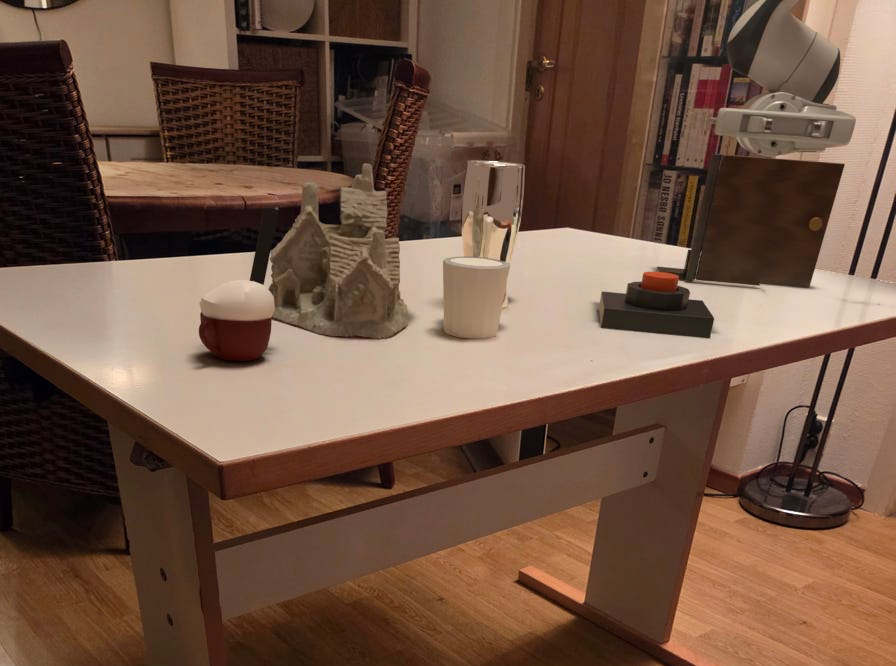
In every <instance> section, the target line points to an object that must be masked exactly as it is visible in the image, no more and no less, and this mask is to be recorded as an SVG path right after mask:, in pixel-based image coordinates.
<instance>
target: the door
mask: <svg viewBox="0 0 896 666" xmlns="http://www.w3.org/2000/svg"><path fill="white" fill-rule="evenodd" d="M845 166H846V164H845V163H844V162H843V163H842V162H830V161H816V160H815V161H814V160H804V159H803V160H801V159H789V158H778V157H777V158H774V157H764V156H762V157H761V156H749V155H735V154H721V153H711V156H710V160H709V164H708V169H707V175H706V178H705V179H706V180H705V184H704V187H703V188H704V189H703V193H702V197H701V202H700V207H699V212H698V216H697V221H696V226H695V231H694V236H693V239H692V245H691V249H690V250H691V254H690V258H689V263H688V268H687V272H686V277H685V279H688V280H692V281H694V280H695V281H705V282H715V283H725V284H736V285H748V286H758V287H759V286H761V285H769V286H782V287H792V288H804V289H810V288H811V284H812V280H813V277H814V273H815V270H816V266H817V263H818V260H819V256H820V253H821V249H822V245H823V242H824V239H825V234H826V231H827V228H828V224H829V222H830V218H831V214H832V211H833V208H834V203H835V200H836V196H837V193H838V190H839V186H840V183H841V179H842V176H843V172H844V169H845Z"/></svg>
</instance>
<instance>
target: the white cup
mask: <svg viewBox="0 0 896 666" xmlns="http://www.w3.org/2000/svg"><path fill="white" fill-rule="evenodd" d="M510 268H511V264H508V263H507V262H503V261H500V260H496V259H490V258H484V257H469V256H463V255H462V256H451V257H446V258H443V260H442V285H443V289H442V292H443V293H442V294H443V296H442V297H443V332H445V334H447V335H449V336H453V337H456V338H462V339H489V338H493V337H496V336H497V334H498V330H499V325H500V319H501V315H502V310H503V309H502V305H503V300H504V294H505V289H506V284H507V285H508V278H509V275H510Z"/></svg>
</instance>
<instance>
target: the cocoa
mask: <svg viewBox="0 0 896 666" xmlns="http://www.w3.org/2000/svg"><path fill="white" fill-rule="evenodd" d="M279 210H280V209H279V208H278V206H273V205H266V206H264V207H263V210H262V215H261V221H260V225H259V230H258V236H257V241H256V246H255V251H254V256H253V261H252V267H251V271H250V276H249V280H248V279H233V280H229V281H226V282H224V283H222V284H220V285H218V286H217V287H215V288H213V289H211V290H208V291H206V292H205V293H204V294H203V295H202V296H201V297H200V301H199V308H200V314H199V319H200V324H199V326H198V336H199V339H200V341H201V343H202V344H203V345H204V347H205V348H206V349H207V350H209V351H210V352H211V353H212V354H213V355H215V356H216V357H217V358H219V359H220V360H225V361H233V362H246V361H247V362H248V361H254V360H258V358H260V357H262V355H264V353H265V352H266V351H267V349H268V346H269V343H270V338H271V333H272V319H273V317H272V315H273V313H274V311H275V305H274V297H273V295H272V294H271V292H270V291H269V290H268V289H269V287H267V286H266V285H265V281H266V275H267V272H268V271H267V270H268V265H269V261H270V257H271V251H272V246H273V240H274V235H275V230H276V226H277V222H278V216H279Z"/></svg>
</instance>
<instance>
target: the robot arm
mask: <svg viewBox="0 0 896 666" xmlns="http://www.w3.org/2000/svg"><path fill="white" fill-rule="evenodd" d="M799 1H800V0H757V1H756V2H754V3H753V4H752V5H751V6H749V8H748V9H746V10H745V11H744V12H743V14H742V15H741V16H740V17H739V18H738V19H737V20H736V22H735V24H734V25H733V26H732V28H731V31H730V33H729V36H728V38H727V39H726V43H725V46H726V47H725V48H726V57H727V61H728V65H729V68H730V69H732V70H733V71H735V72H737V73H739V74H741V75H742V76H744V77H745V78H747V77H748V78H749V79H751V80H752V81H754V82H755V83H756V84H758V85H759V86H761V87H762V88H764V89H765V90H766V92H764V93H760V94H757V95H755V96H753V97H751V98H749V99H748V100H747V101H746V102H745V103H744V104H743V105H742V106H741V108H735V107H734V108H733V107H720V108H719V109H718V111H717V115H716V117H710V119H709V124H711V125H712V124H713V125H714V130H713V133H714V135H716V136H719V137H720V136H721V137H734V138H736V141H737V142H738V144H739V145H740V146H741V148H743V149H744V150H746V151H747V152H749V153H752V154H756V155H758V156H762V157H765V158H774V157H778V156H785V155H789V154H794V153H818V152H819V153H823V152H825V151H826V149H830V148H839V147H845V146H848V145H849V144H850V142H851V140H852V137H853V133H854V131H855V127H856V123H857V119H856V117H855V116H854V115H852V114H850V113H847V112H845V111H842V110H837V108H838V107H837V106H836V105H835V104H830V103H825V101H826V100H827V98H828V97H829V95H830V94H831V92H832V91H833V89H834V87H835V86H836V84H837V81H838V79H839V75H840V68H841V51H840V48H839V47H838V46H836V45H835V44H834V43H833V42H831V41H830V40H828V39H827V38H826V37H825V36H823V35H822V34H821V33H820V32H818V31H815V30H814V29H813V28H811V27H810V26H808V25H807V24H805V23H804V22H803V21H801V20H800V19H799V18H797V17H796V16H795V15H793V14H792V12H790V10H791V9H792V8H793V7H794V6H795V5H796V4H797V3H798V2H799Z"/></svg>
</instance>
